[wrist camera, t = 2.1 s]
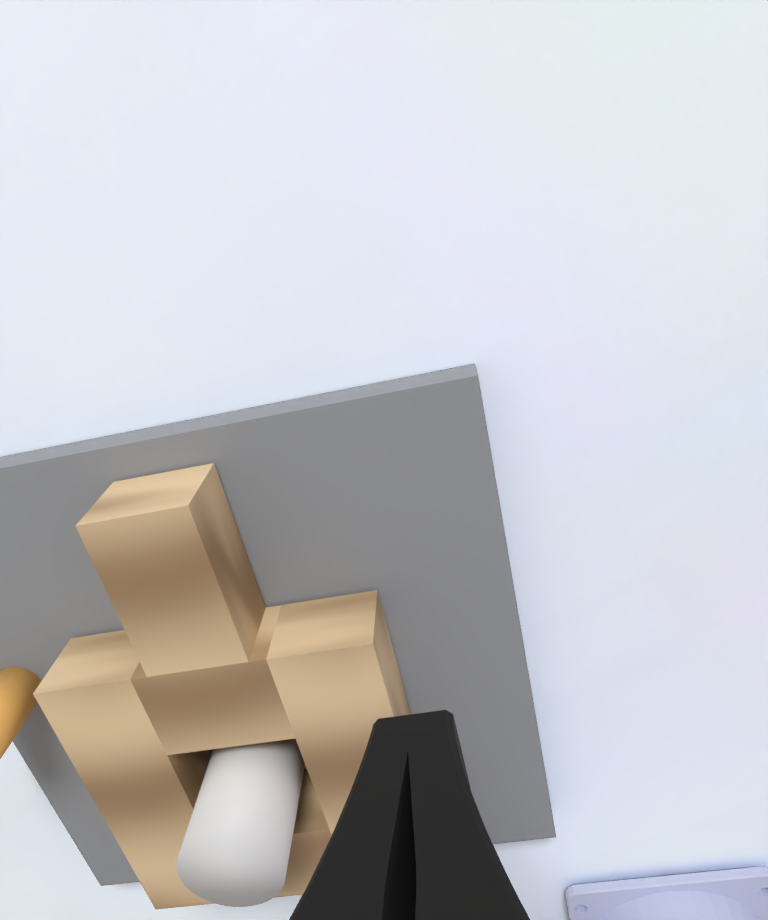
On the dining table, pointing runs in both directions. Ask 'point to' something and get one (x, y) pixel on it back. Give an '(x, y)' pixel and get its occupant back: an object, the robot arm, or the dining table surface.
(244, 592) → the wooden beam assembly
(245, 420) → the base plate
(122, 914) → the dining table surface
